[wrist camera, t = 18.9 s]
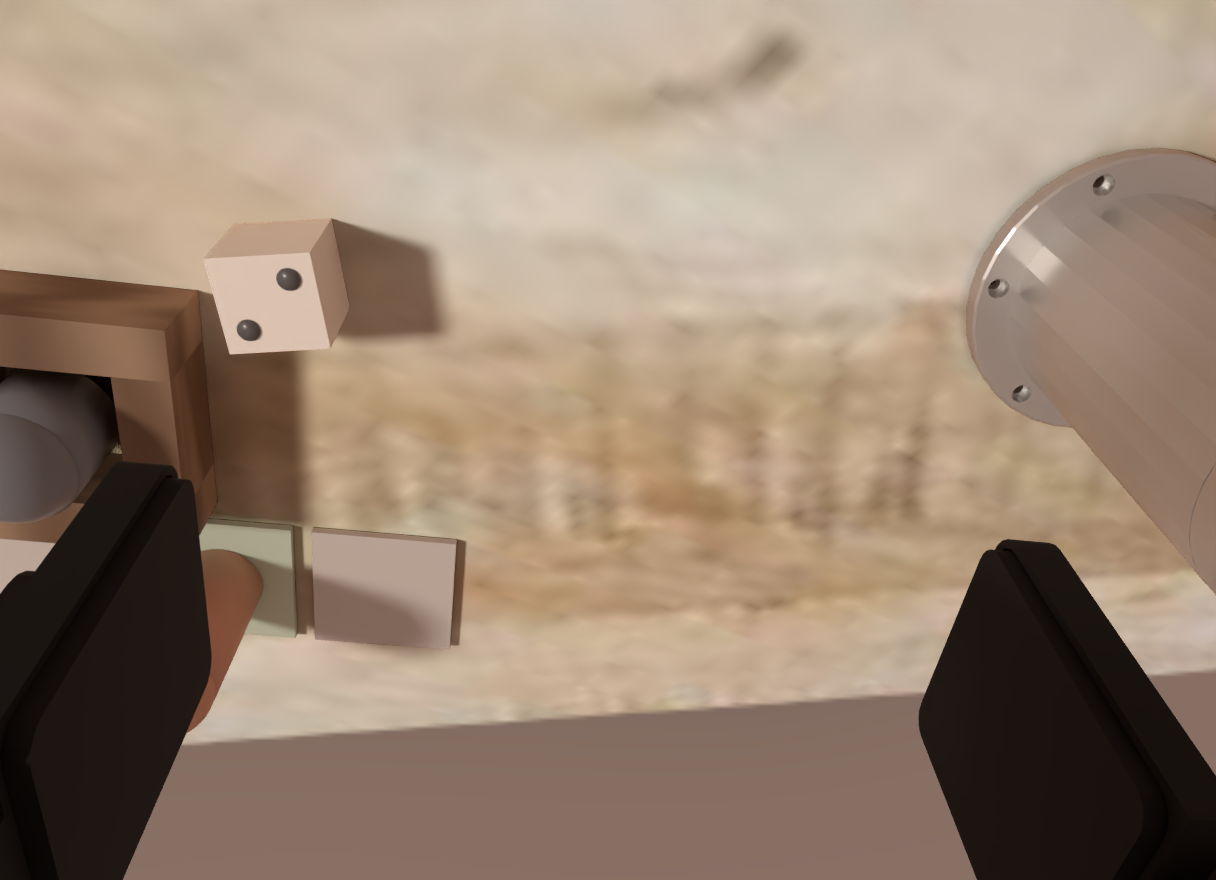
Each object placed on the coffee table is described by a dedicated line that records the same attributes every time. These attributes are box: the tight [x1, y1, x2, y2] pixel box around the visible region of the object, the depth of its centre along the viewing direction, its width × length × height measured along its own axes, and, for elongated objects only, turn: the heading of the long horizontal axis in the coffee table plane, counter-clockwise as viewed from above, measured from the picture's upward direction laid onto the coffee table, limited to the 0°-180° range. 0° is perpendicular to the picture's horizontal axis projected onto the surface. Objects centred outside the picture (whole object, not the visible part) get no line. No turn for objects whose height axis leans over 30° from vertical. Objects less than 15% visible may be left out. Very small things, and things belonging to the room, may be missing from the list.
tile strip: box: [0, 519, 457, 649], centre depth 49 cm, size 23×7×1 cm, turn 83°
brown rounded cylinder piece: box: [186, 549, 263, 733], centre depth 45 cm, size 4×4×10 cm
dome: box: [0, 368, 119, 523], centre depth 39 cm, size 5×5×6 cm
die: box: [203, 218, 350, 354], centre depth 40 cm, size 4×4×4 cm
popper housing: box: [0, 270, 217, 543], centre depth 42 cm, size 11×11×4 cm
